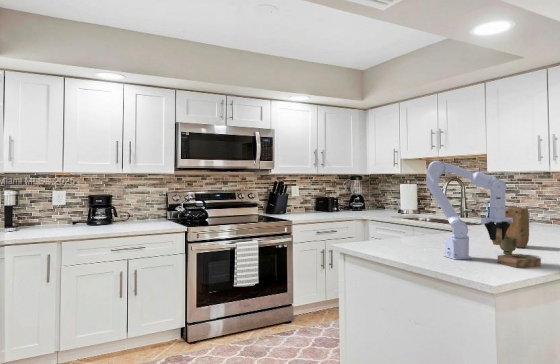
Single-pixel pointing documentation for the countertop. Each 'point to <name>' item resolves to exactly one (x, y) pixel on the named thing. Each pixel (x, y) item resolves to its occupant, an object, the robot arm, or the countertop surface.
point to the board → (519, 260)
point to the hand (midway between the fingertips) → (496, 239)
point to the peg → (498, 237)
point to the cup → (508, 245)
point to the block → (518, 225)
